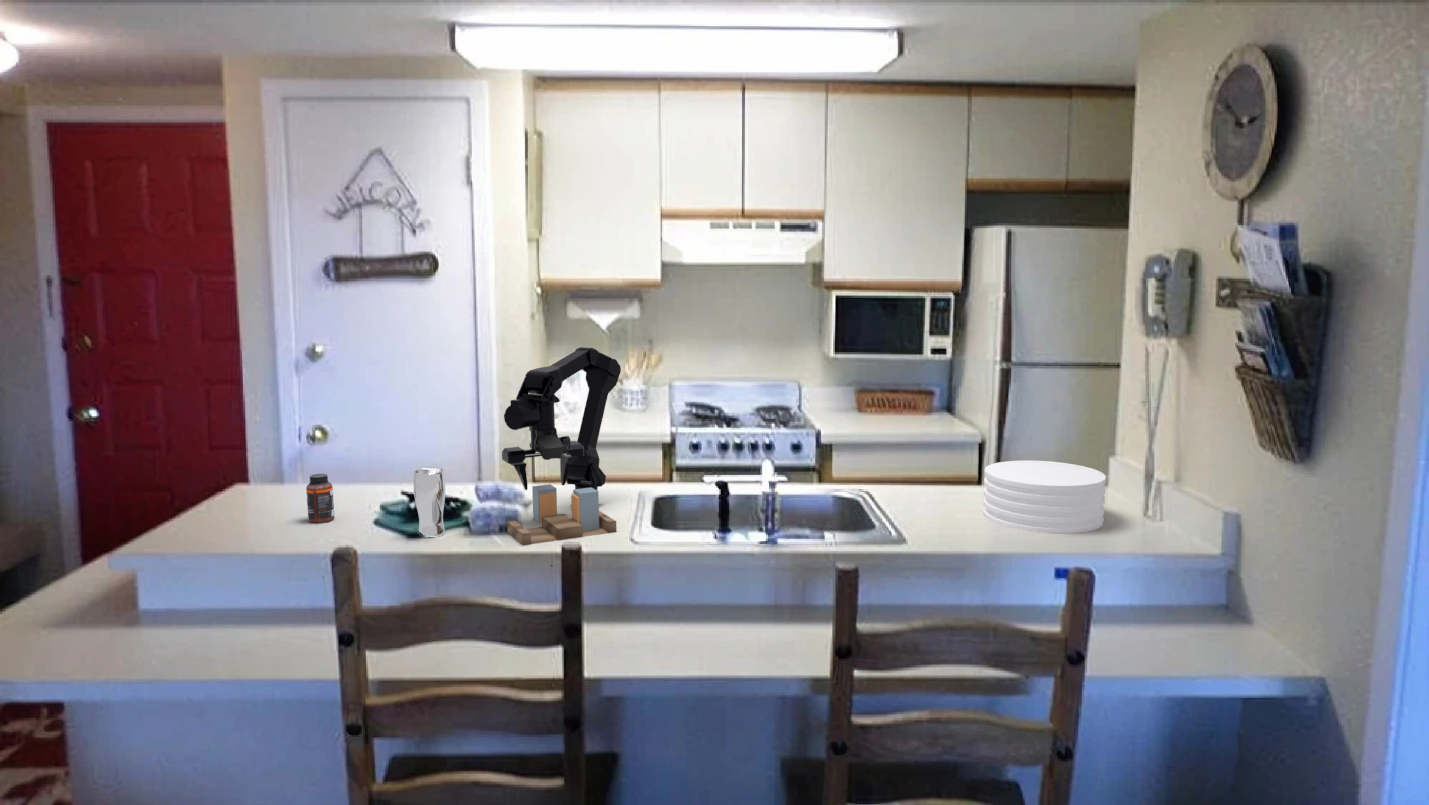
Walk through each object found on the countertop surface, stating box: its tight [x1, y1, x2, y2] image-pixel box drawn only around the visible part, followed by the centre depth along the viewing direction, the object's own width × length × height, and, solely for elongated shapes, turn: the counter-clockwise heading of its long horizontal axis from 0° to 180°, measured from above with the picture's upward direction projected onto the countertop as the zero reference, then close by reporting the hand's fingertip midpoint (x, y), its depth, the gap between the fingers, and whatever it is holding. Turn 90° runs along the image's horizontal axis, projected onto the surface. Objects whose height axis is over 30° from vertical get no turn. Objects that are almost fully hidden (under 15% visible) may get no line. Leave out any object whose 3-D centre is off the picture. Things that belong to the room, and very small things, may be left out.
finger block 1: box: [531, 483, 558, 525], centre depth 233 cm, size 4×5×9 cm
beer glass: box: [413, 467, 446, 537], centre depth 225 cm, size 7×7×15 cm
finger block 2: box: [570, 488, 600, 532], centre depth 226 cm, size 4×5×9 cm
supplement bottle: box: [305, 473, 335, 524], centre depth 237 cm, size 6×6×11 cm
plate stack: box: [982, 459, 1107, 534], centre depth 238 cm, size 28×28×12 cm
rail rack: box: [506, 510, 617, 546], centre depth 224 cm, size 12×22×4 cm, turn 118°
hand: (544, 487), depth 233 cm, fingers open, 9 cm apart
